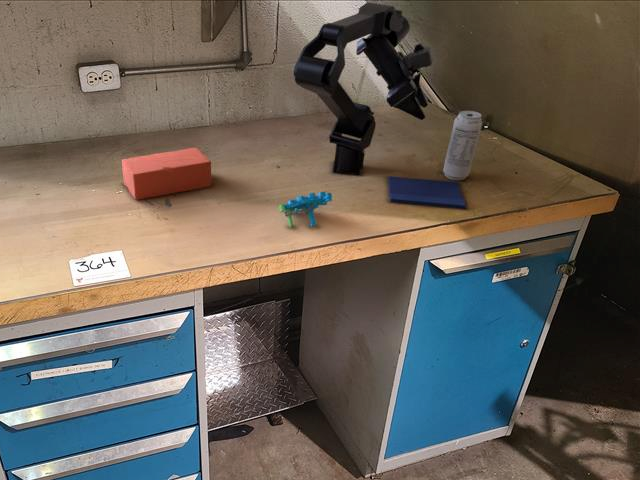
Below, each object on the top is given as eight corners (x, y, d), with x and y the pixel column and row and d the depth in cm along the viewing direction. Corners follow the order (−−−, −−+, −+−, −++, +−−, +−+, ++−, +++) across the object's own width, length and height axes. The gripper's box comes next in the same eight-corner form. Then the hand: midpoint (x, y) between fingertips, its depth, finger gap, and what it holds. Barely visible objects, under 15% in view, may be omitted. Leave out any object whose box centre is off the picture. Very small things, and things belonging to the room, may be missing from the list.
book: (390, 202, 132) (390, 198, 132) (388, 177, 143) (389, 174, 142) (465, 209, 130) (466, 205, 130) (457, 183, 141) (458, 180, 140)
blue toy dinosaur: (326, 200, 128) (335, 185, 118) (332, 227, 127) (342, 213, 118) (275, 210, 127) (281, 195, 117) (281, 237, 127) (287, 224, 117)
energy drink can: (470, 174, 145) (487, 113, 136) (464, 183, 141) (480, 120, 132) (445, 168, 148) (460, 108, 139) (439, 177, 143) (453, 115, 135)
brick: (196, 171, 143) (196, 147, 140) (211, 186, 137) (211, 161, 133) (123, 183, 137) (121, 158, 133) (135, 200, 130) (133, 174, 127)
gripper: (412, 43, 124) (455, 102, 128) (418, 25, 139) (456, 79, 143) (368, 78, 131) (410, 133, 135) (378, 57, 145) (416, 108, 149)
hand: (425, 112), depth 140 cm, fingers open, 9 cm apart
